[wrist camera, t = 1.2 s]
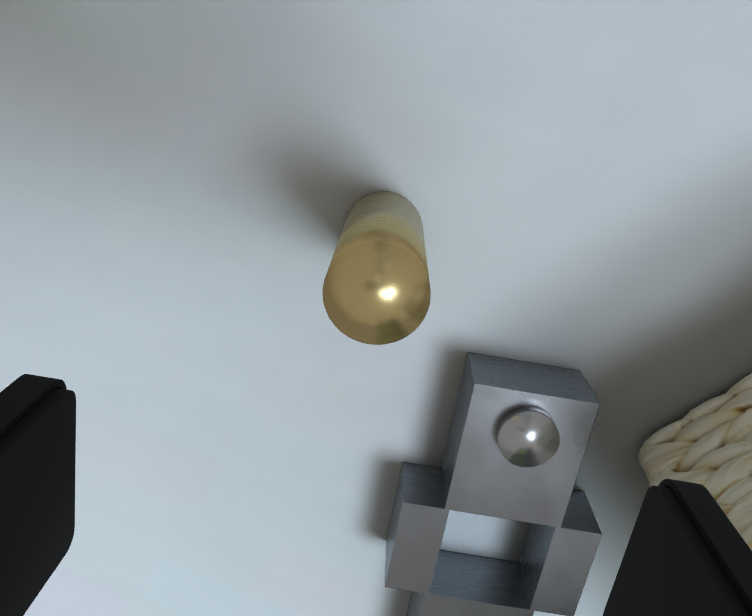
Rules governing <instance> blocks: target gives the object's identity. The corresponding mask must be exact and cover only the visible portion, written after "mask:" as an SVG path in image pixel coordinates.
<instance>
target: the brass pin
mask: <svg viewBox="0 0 752 616" xmlns="http://www.w3.org/2000/svg"><path fill="white" fill-rule="evenodd" d="M323 301H324V306H325V309H326V312H327V314H328V316H329V318H330V319H331V321H332V322H333V324H334V325H335V326H336V327H337V328H338V329H339V330H340V331H341V332H342V333H344V334H345V335H347V336H348V337H350V338H352V339H354V340H356V341H359V342H362V343H366V344H374V345H381V344H389V343H392V342H396V341H398V340H401V339H403V338H405V337H406V336H408V335H409V334H411V333H412V332H413V331H414V330H415V329H416V328H417V327H418V326H419V325H420V324H421V322H422V321H423V319H424V318H425V316H426V313H427V311H428V308H429V304H430V283H429V275H428V266H427V258H426V250H425V242H424V233H423V225H422V220H421V217H420V215H419V212H418V211H417V209H416V208H415V206H414V205H413V204H412V203H411V202H410V201H409V200H407V199H406V198H404V197H403V196H401V195H398V194H396V193H392V192H375V193H371V194H369V195H366V196H364V197H363V198H361V199H360V200H359V201H357V202H356V203H355V204H354V205H353V207H352V208H351V209H350V211H349V213H348V215H347V218H346V221H345V224H344V226H343V229H342V232H341V235H340V238H339V240H338V243H337V246H336V249H335V252H334V255H333V257H332V260H331V263H330V266H329V269H328V271H327V274H326V277H325V280H324V285H323Z"/></svg>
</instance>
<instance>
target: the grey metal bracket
mask: <svg viewBox="0 0 752 616" xmlns="http://www.w3.org/2000/svg"><path fill="white" fill-rule="evenodd" d="M599 405H600V404H599V402H598V400H597V399H596V397H595V395H594V393H593V392H592V390H591V388H590V386H589V385H588V383H587V381H586V379H585V378H584V376H583V374H582V372H581V371H577V370H571V369H565V368H559V367H553V366H547V365H541V364H535V363H529V362H523V361H517V360H511V359H505V358H499V357H493V356H487V355H481V354H475V353H469V352H468V354H467V359H466V363H465V367H464V371H463V376H462V380H461V384H460V389H459V393H458V397H457V402H456V406H455V410H454V414H453V419H452V423H451V427H450V432H449V436H448V440H447V445H446V449H445V453H444V458H443V462H442V466H441V468H435V467H429V466H422V465H416V464H410V463H404V462H403V464H402V469H401V474H400V478H399V483H398V488H397V493H396V498H395V502H394V507H393V512H392V517H391V522H390V526H389V531H388V536H387V541H386V566H385V587H388V588H394V589H401V590H407V591H412V595H411V600H410V604H409V608H408V613H407V616H533V613H534V611H540V612H547V613H553V614H559V615H566V616H574V614H575V611H576V608H577V605H578V602H579V599H580V596H581V593H582V591H583V588H584V585H585V582H586V579H587V576H588V573H589V570H590V567H591V565H592V562H593V559H594V556H595V553H596V550H597V547H598V544H599V541H600V539H601V536H602V533H601V531H600V528H599V526H598V524H597V521H596V519H595V516H594V514H593V512H592V509H591V507H590V504H589V502H588V500H587V497H586V495H585V493H584V492H583V491H577V490H573V487H574V484H575V480H576V477H577V474H578V471H579V468H580V465H581V462H582V458H583V455H584V452H585V449H586V446H587V443H588V440H589V436H590V433H591V430H592V427H593V424H594V421H595V418H596V414H597V411H598V408H599ZM449 510H454V511H460V512H467V513H473V514H479V515H485V516H492V517H498V518H504V519H510V520H516V521H523V522H529V523H531V524H530V527H529V531H528V534H527V537H526V541H525V544H524V547H523V551H522V554H521V558H520V561H519V563H517V562H511V561H504V560H498V559H492V558H485V557H479V556H473V555H467V554H460V553H454V552H448V551H441V550H440V546H441V542H442V538H443V534H444V530H445V526H446V522H447V517H448V513H449Z"/></svg>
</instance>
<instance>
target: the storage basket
mask: <svg viewBox="0 0 752 616" xmlns="http://www.w3.org/2000/svg"><path fill="white" fill-rule="evenodd" d="M638 458H639V463H640V464H641V466H642V468H643V469H644V471H645V473H646V477H647V479H648V481H649V487H651V486H653V485H655V486H658V485H659V483H660V482H661V481H662V480H664V479H666V478H667V479H673V480H679V481H685V482H692V483H698V484H702V485H704V486H705V487H706V488H707V490H708V491H709V492H710V494H711V495H712V497H713V498H714V499H715V501H716V502H717V503H718V505H719V506H720V508H721V509H722V510H723V512H724V513H725V514H726V516H727V517H728V519H729V520H730V521H731V523H732V524H733V526H734V527H735V528H736V530H737V531H738V532H739V534H740V535H741V537H742V538H743V539H744V541H745V542H746V543H747V545H748V546H749V548H750V549H751V550H752V373H751V374H749V375H748V376H746V377H744V378H743V379H742V380H740V381H739V382H738V383H736V384H735V385H734V386H732V387H731V388H730V389H729V390H728V391H727V393H725V394H723V395H721V396H717V397H715V398H712V399H710V400H708V401H705V402H704V403H702V404H700V405H699V406H697V407H695V408H694V409H692V410H690V411H689V412H688V413H687V414H686V415H685V416H684V417H683V418H682V419H681V420H678V421H676V422H674V423H672V424H670V425H668V426H666V427H664V428H662V429H660V430H658V431H657V432H656V433H654V434H653V435H651V436H650V437H649V438H648V439H647V440H645V442H644V443H643V445H642V447H641V449H640V450H639V454H638Z"/></svg>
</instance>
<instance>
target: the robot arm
mask: <svg viewBox="0 0 752 616" xmlns="http://www.w3.org/2000/svg"><path fill="white" fill-rule="evenodd" d="M75 440H76V396H75V393H74V392H73V391H71V390H66V385H65V382H64V381H63V380H60V379H54V378H48V377H42V376H36V375H30V374H24V375H22V376H20V377H19V378H18V379H16V380H15V381H14V382H13V383H11V384H10V385H9V386H8V387H6V388H5V389H4V390H3V391H2V392H0V616H23V615H24V614H25V612H26V611H27V609H28V608H29V606H30V605H31V604H32V602H33V601H34V599H35V598H36V596H37V595H38V593H39V592H40V591H41V589H42V588H43V586H44V585H45V583H46V582H47V580H48V579H49V578H50V576H51V575H52V573H53V572H54V570H55V569H56V567H57V566H58V565H59V563H60V562H61V560H62V559H63V557H64V556H65V554H66V553H67V551H68V549H69V547H70V545H71V542H72V539H73V535H74V527H75ZM603 616H752V550H751V549H750V548H749V546H748V545H747V543H746V542H745V541H744V539H743V538H742V537H741V535H740V534H739V532H738V531H737V530H736V528H735V527H734V526H733V524H732V523H731V521H730V520H729V519H728V517H727V516H726V514H725V513H724V512H723V510H722V509H721V508H720V506H719V505H718V503H717V502H716V501H715V499H714V498H713V497H712V495H711V494H710V492H709V491H708V490H707V488H706V487H705V486H704V485H702V484H698V483H692V482H685V481H679V480H673V479H667V478H666V479H664V480H662V481H661V482H660V483H659V485H658V486H655V485H653V486H651V487H650V488H649V489H648V491H647V493H646V496H645V498H644V501H643V504H642V507H641V509H640V512H639V515H638V518H637V521H636V523H635V526H634V529H633V532H632V535H631V537H630V540H629V543H628V546H627V549H626V551H625V554H624V557H623V560H622V562H621V565H620V568H619V571H618V574H617V576H616V579H615V582H614V585H613V588H612V590H611V593H610V596H609V599H608V602H607V604H606V607H605V610H604V613H603Z"/></svg>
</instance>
